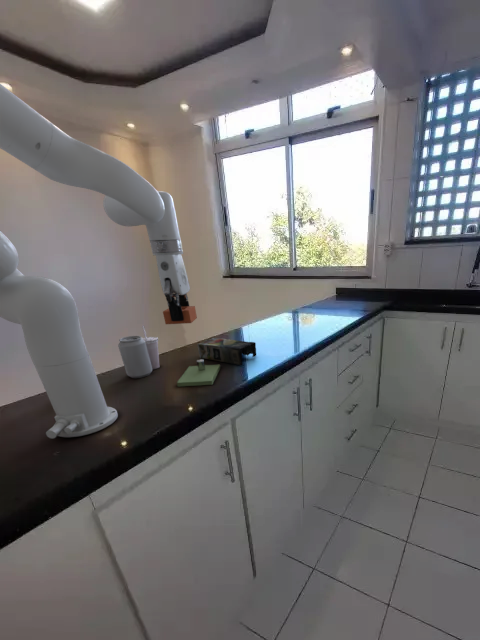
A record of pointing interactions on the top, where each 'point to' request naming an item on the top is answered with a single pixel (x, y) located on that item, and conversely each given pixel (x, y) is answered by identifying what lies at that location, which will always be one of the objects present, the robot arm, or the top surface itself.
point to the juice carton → (226, 350)
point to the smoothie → (152, 349)
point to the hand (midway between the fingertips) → (181, 317)
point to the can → (135, 356)
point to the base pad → (199, 374)
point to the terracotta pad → (188, 315)
